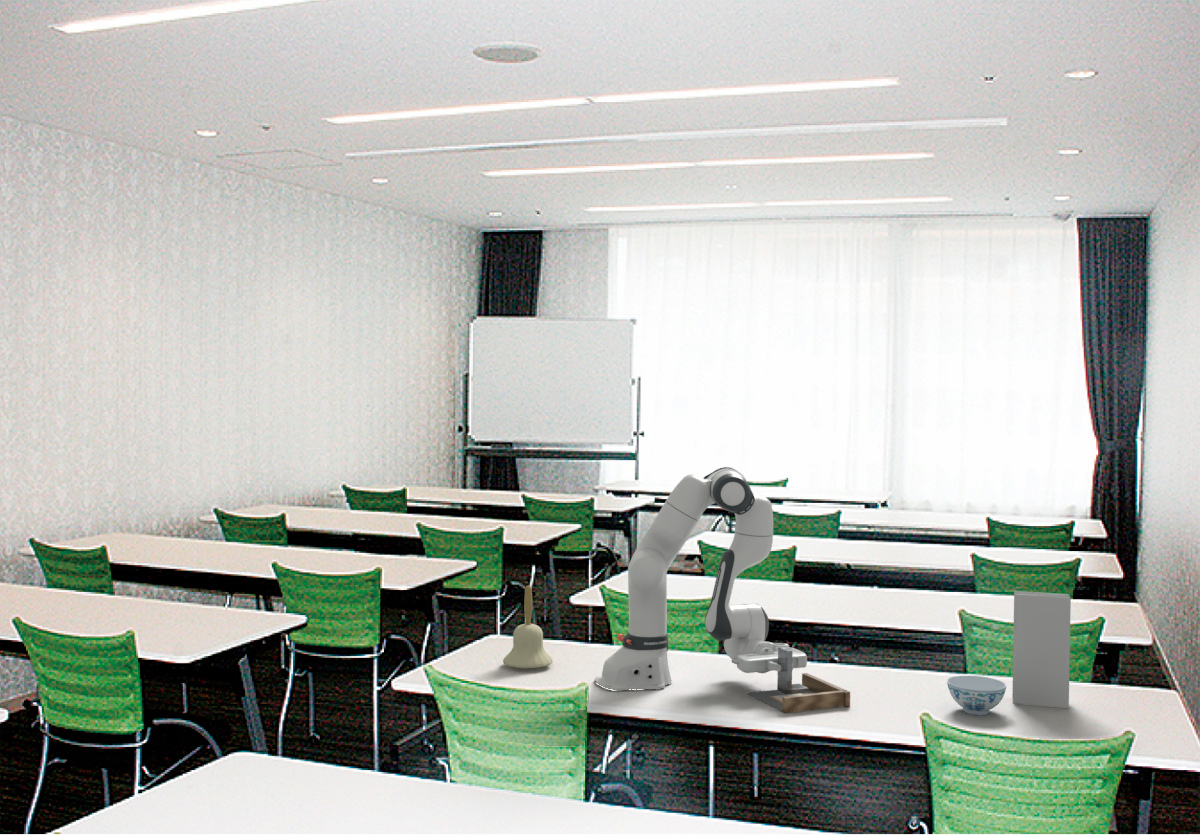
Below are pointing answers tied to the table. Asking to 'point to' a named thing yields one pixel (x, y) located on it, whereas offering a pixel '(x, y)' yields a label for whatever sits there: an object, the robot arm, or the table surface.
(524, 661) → the handbell
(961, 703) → the chinaware
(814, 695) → the brown wooden corner frame
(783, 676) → the bracket
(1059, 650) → the tall grey block
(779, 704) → the mat
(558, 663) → the table surface
